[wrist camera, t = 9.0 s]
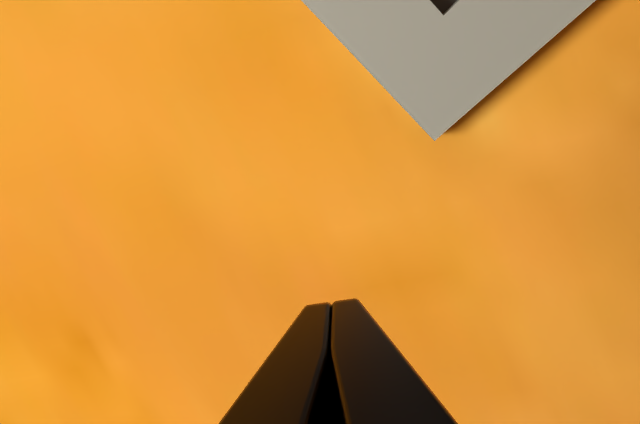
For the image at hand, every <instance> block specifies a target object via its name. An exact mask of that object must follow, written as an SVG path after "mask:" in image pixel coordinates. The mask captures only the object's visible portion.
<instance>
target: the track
mask: <svg viewBox="0 0 640 424" xmlns="http://www.w3.org/2000/svg"><path fill="white" fill-rule="evenodd" d="M302 1H303V3H304V4H305V5H306V6H307V7H308V8H309V9H310V10H311V11H312V12H313V13H314V14H315V15H316V16H317V17H318V18H319V19H320V21H321V22H322V23H323V24H324V25H325V26H326V27H327V28H328V29H329V30H330V31H331V32H332V33H333V34H334V35H335V36H336V37H337V38H338V40H339V41H340V42H341V43H342V44H343V45H344V46H345V47H346V48H347V49H348V50H349V51H350V52H351V53H352V54H353V55H354V56H355V57H356V59H357V60H358V61H359V62H360V63H361V64H362V65H363V66H364V67H365V68H366V69H367V70H368V71H369V72H370V73H371V74H372V75H373V77H374V78H375V79H376V80H377V81H378V82H379V83H380V84H381V85H382V86H383V87H384V88H385V89H386V90H387V91H388V92H389V93H390V94H391V96H392V97H393V98H394V99H395V100H396V101H397V102H398V103H399V104H400V105H401V106H402V107H403V108H404V109H405V110H406V111H407V112H408V113H409V115H410V116H411V117H412V118H413V119H414V120H415V121H416V122H417V123H418V124H419V125H420V126H421V127H422V128H423V129H424V130H425V131H426V133H427V134H428V135H429V136H430V137H431V138H432V139H433V140H434V141H435V140H436V139H437V138H438V137H439V136H441V135H442V134H443V133H444V132H445V131H446V130H448V129H449V128H450V127H451V126H452V125H453V124H454V123H456V122H457V121H458V120H459V119H460V118H461V117H462V116H464V115H465V114H466V113H467V112H468V111H469V110H471V109H472V108H473V107H474V106H475V105H476V104H477V103H479V102H480V101H481V100H482V99H483V98H484V97H485V96H487V95H488V94H489V93H490V92H491V91H492V90H493V89H495V88H496V87H497V86H498V85H499V84H500V83H502V82H503V81H504V80H505V79H506V78H507V77H508V76H510V75H511V74H512V73H513V72H514V71H515V70H516V69H518V68H519V67H520V66H521V65H522V64H523V63H524V62H526V61H527V60H528V59H529V58H530V57H531V56H533V55H534V54H535V53H536V52H537V51H538V50H539V49H541V48H542V47H543V46H544V45H545V44H546V43H547V42H549V41H550V40H551V39H552V38H553V37H554V36H556V35H557V34H558V33H559V32H560V31H561V30H562V29H564V28H565V27H566V26H567V25H568V24H569V23H570V22H572V21H573V20H574V19H575V18H576V17H577V16H578V15H580V14H581V13H582V12H583V11H584V10H585V9H587V8H588V7H589V6H590V5H591V4H592V3H593V2H595V1H596V0H302Z"/></svg>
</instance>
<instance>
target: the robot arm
mask: <svg viewBox="0 0 640 424" xmlns="http://www.w3.org/2000/svg"><path fill="white" fill-rule="evenodd" d="M219 424H458V423H457V422H456V421H455V419H454V418H453V417H452V416H451V414H450V413H449V412H448V411H447V409H446V408H445V407H444V406H443V404H442V403H441V402H440V401H439V399H438V398H437V397H436V396H435V394H434V393H433V392H432V391H431V390H430V388H429V387H428V386H427V385H426V383H425V382H424V381H423V380H422V378H421V377H420V376H419V375H418V373H417V372H416V371H415V370H414V368H413V367H412V366H411V365H410V363H409V362H408V361H407V360H406V358H405V357H404V356H403V355H402V353H401V352H400V351H399V350H398V348H397V347H396V346H395V345H394V343H393V342H392V341H391V340H390V339H389V337H388V336H387V335H386V334H385V332H384V331H383V330H382V329H381V327H380V326H379V325H378V324H377V322H376V321H375V320H374V319H373V317H372V316H371V315H370V314H369V312H368V311H367V310H366V309H365V307H364V306H363V305H362V304H361V302H360V301H359V300H358V299H347V300H340V301H335V302H334V303H333V304H332V305H331V304H330V303H328V302H326V303H319V304H312V305H307V306H306V307H304V309H303V310H302V311H301V313H300V314H299V315H298V317H297V318H296V319H295V321H294V322H293V323H292V325H291V326H290V328H289V329H288V330H287V332H286V333H285V334H284V336H283V337H282V338H281V340H280V341H279V342H278V344H277V345H276V347H275V348H274V349H273V351H272V352H271V353H270V355H269V356H268V357H267V359H266V360H265V361H264V363H263V364H262V366H261V367H260V368H259V370H258V371H257V372H256V374H255V375H254V376H253V378H252V379H251V380H250V382H249V383H248V385H247V386H246V387H245V389H244V390H243V391H242V393H241V394H240V395H239V397H238V398H237V399H236V401H235V402H234V404H233V405H232V406H231V408H230V409H229V410H228V412H227V413H226V414H225V416H224V417H223V418H222V420H221V421H220V423H219Z"/></svg>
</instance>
